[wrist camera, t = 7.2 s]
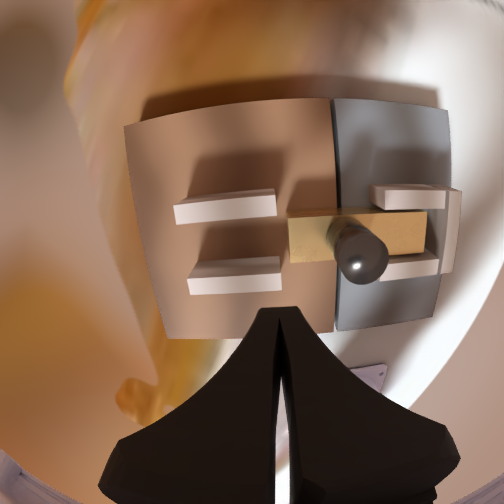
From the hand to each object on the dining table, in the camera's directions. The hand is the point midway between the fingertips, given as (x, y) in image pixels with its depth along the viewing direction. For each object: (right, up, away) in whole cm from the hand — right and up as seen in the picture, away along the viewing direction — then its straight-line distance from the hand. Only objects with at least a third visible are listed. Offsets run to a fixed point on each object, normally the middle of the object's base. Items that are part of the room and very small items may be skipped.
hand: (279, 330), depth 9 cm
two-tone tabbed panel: (+2, +5, +8) cm, 10 cm away
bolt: (+5, +4, +6) cm, 9 cm away
